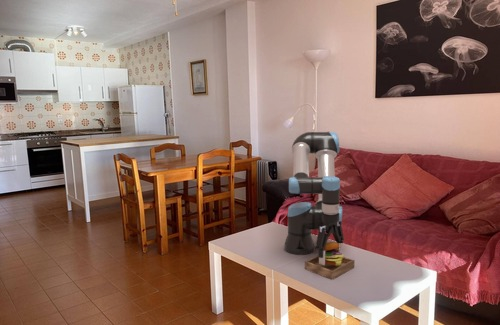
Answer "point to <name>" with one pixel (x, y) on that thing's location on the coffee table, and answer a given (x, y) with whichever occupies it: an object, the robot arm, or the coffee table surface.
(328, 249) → the cheeseburger
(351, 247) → the coffee table surface
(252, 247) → the coffee table surface
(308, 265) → the crate
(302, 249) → the robot arm
